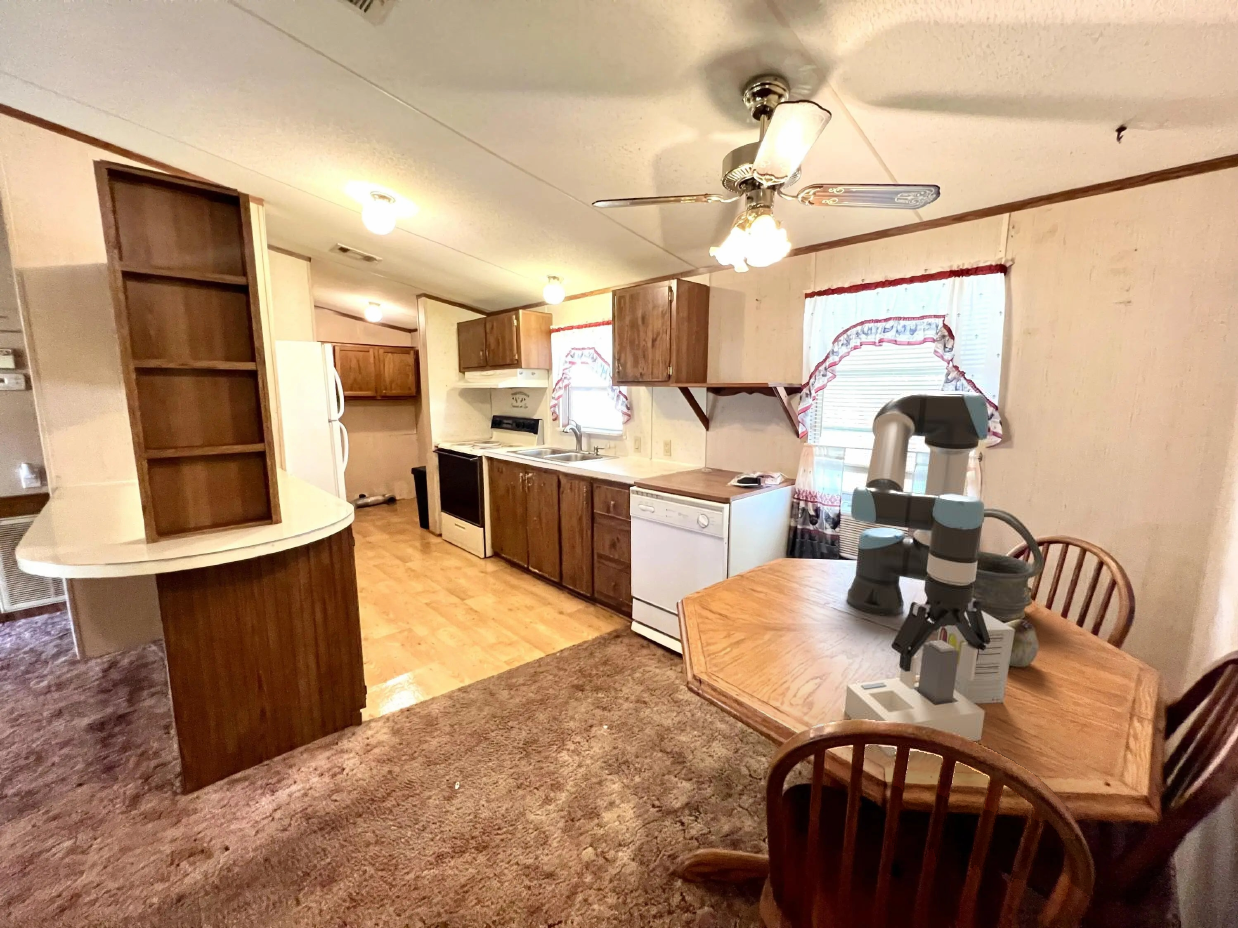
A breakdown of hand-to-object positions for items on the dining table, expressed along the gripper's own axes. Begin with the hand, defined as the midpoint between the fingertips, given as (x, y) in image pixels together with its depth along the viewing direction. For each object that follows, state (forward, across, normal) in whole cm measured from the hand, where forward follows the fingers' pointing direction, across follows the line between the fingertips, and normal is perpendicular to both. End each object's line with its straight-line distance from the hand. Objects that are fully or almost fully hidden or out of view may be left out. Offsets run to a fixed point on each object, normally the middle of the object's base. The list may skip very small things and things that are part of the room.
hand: (936, 680), depth 93 cm
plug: (+6, 0, 0) cm, 6 cm away
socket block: (+9, +5, 0) cm, 10 cm away
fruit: (+9, -36, -14) cm, 40 cm away
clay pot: (+9, -57, -39) cm, 70 cm away
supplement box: (+9, -16, -7) cm, 20 cm away
